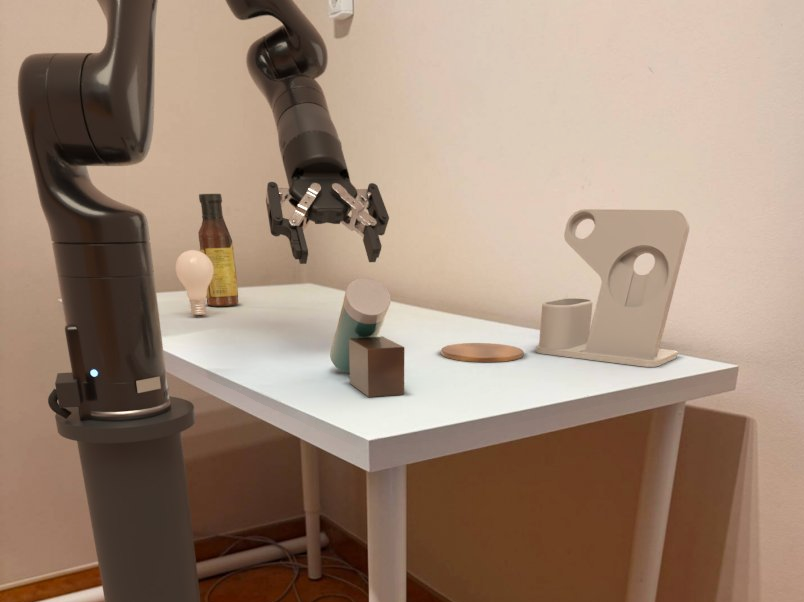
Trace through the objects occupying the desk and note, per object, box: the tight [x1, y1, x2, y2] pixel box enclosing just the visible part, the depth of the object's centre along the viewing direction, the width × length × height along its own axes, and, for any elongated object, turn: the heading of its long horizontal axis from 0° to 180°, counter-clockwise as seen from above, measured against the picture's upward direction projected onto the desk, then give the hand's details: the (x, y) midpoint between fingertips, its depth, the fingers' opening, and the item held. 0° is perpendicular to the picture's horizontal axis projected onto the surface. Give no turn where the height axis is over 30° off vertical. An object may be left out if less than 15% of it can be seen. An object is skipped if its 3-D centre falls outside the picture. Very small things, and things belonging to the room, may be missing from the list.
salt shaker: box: [329, 277, 392, 374], centre depth 86 cm, size 5×11×11 cm, turn 20°
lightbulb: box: [174, 249, 214, 318], centre depth 131 cm, size 6×6×11 cm
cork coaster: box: [440, 342, 524, 363], centre depth 102 cm, size 11×11×1 cm
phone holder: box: [535, 208, 690, 368], centre depth 99 cm, size 17×10×18 cm, turn 53°
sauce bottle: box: [198, 193, 239, 307], centre depth 144 cm, size 6×6×20 cm
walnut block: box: [349, 336, 405, 398], centre depth 82 cm, size 4×7×5 cm, turn 20°
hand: (339, 258), depth 89 cm, fingers open, 8 cm apart
